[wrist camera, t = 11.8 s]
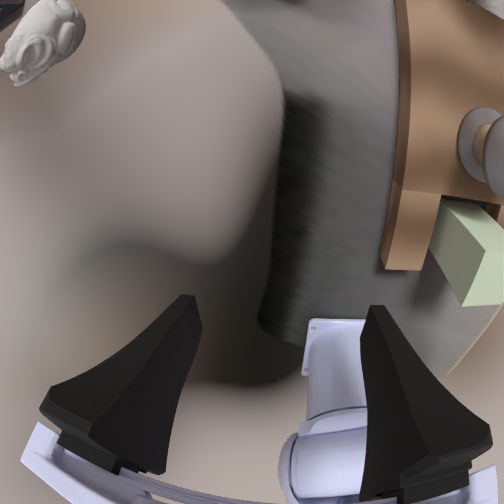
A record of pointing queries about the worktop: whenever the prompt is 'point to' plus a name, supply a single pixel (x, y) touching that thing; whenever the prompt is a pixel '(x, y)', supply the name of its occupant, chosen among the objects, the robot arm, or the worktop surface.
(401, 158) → the notched board
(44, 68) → the frog figurine
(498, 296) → the peg
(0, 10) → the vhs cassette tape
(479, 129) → the bobbin
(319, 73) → the worktop surface
